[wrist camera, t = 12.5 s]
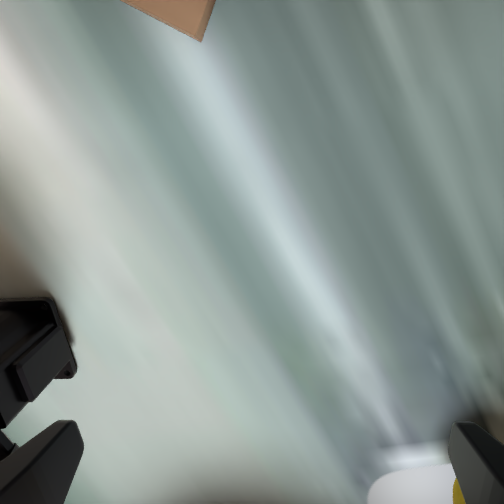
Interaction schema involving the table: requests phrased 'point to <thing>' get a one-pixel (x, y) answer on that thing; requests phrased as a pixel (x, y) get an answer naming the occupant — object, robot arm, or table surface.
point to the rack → (178, 14)
